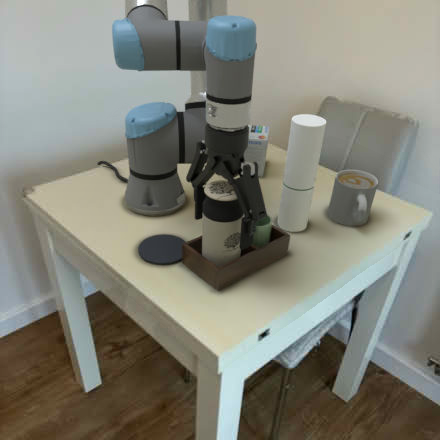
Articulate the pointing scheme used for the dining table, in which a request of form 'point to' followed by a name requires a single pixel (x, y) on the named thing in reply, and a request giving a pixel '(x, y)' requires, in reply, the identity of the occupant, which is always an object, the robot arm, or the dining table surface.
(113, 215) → the dining table surface
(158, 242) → the slate coaster
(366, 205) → the coffee mug
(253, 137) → the light bulb box
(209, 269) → the cup holder
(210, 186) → the travel mug
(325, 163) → the dining table surface
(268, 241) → the sage cup
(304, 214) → the cylindrical container
